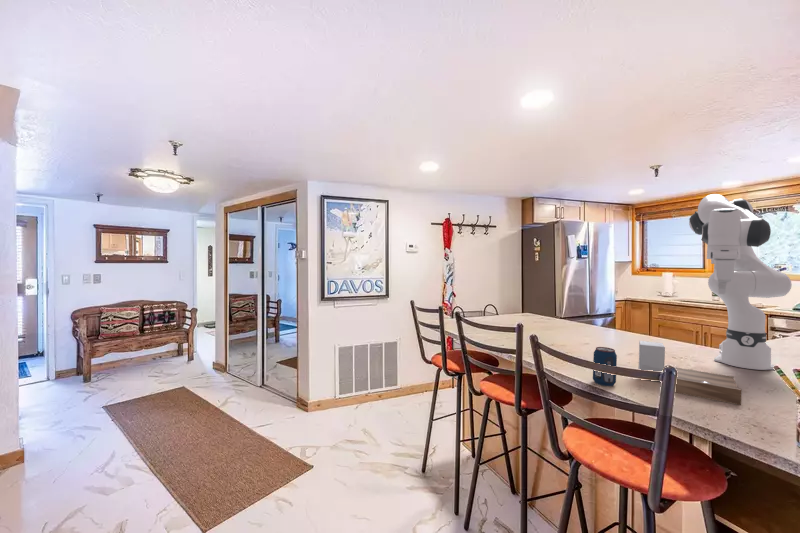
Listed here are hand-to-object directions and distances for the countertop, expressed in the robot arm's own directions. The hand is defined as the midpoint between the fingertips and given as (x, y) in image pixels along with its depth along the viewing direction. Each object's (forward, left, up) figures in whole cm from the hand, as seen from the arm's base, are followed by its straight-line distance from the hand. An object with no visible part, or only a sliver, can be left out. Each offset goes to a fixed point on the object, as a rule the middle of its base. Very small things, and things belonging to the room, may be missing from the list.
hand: (721, 293), depth 129 cm
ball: (+17, -4, -29) cm, 34 cm away
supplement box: (+12, -19, -31) cm, 39 cm away
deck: (+12, -4, -31) cm, 34 cm away
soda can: (+30, -31, -31) cm, 53 cm away
